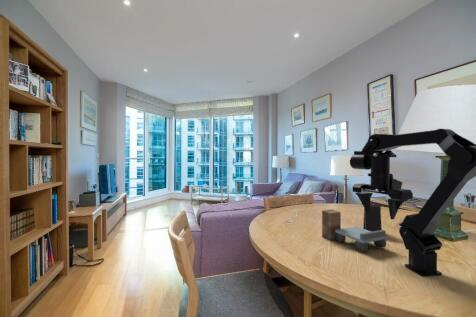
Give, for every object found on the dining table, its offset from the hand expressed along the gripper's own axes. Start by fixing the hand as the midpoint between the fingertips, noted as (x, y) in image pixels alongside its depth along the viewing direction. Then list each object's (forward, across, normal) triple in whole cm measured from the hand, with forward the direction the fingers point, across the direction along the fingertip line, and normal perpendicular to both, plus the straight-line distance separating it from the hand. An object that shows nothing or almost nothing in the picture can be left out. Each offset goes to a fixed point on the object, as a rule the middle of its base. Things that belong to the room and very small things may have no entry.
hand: (379, 215), depth 85 cm
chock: (+13, +19, +4) cm, 23 cm away
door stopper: (+13, +17, -17) cm, 28 cm away
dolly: (+13, +9, 0) cm, 16 cm away
